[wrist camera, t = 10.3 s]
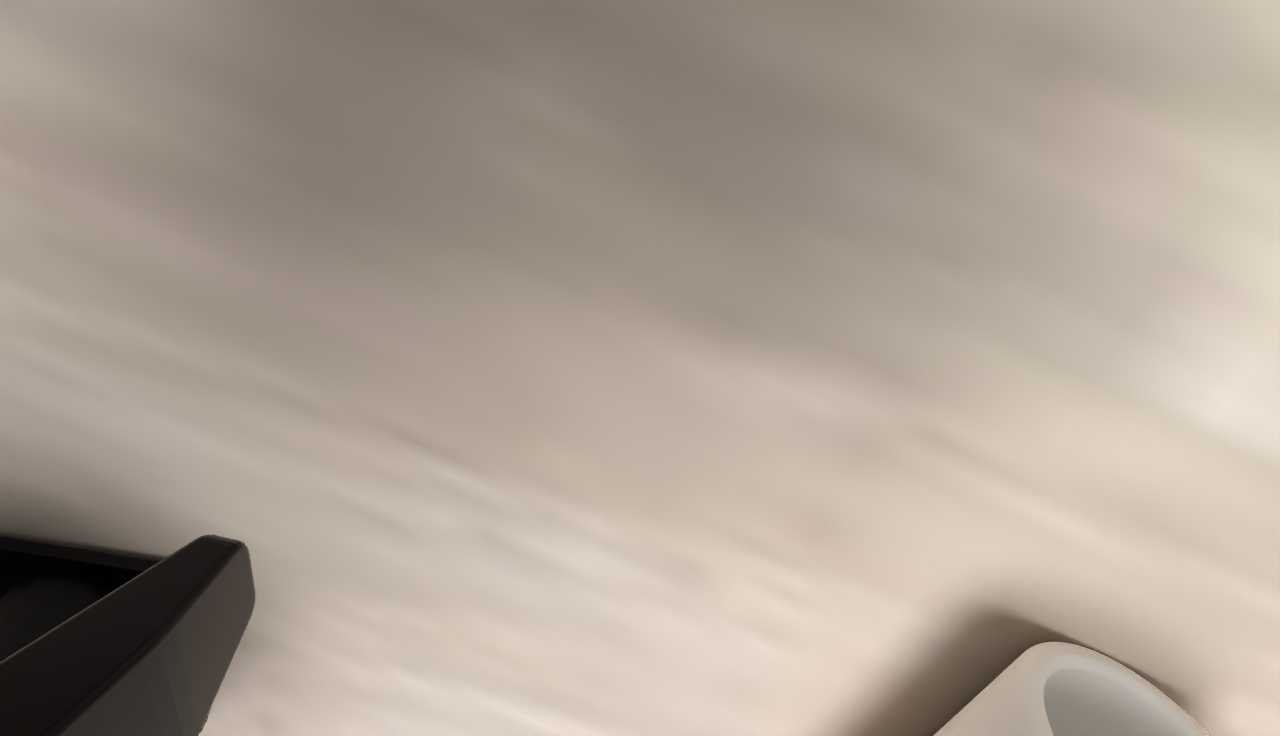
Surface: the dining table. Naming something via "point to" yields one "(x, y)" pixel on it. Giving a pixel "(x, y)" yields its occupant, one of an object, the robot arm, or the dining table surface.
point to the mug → (1070, 699)
